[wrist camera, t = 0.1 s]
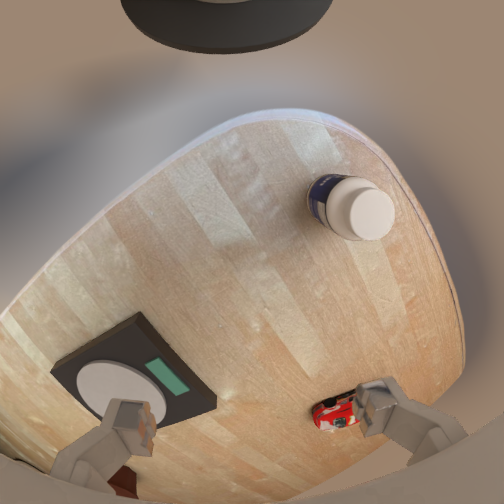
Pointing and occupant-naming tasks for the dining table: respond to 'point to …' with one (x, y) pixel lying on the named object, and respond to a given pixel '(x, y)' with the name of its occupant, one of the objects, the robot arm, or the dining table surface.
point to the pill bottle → (351, 207)
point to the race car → (335, 413)
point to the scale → (134, 374)
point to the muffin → (124, 483)
